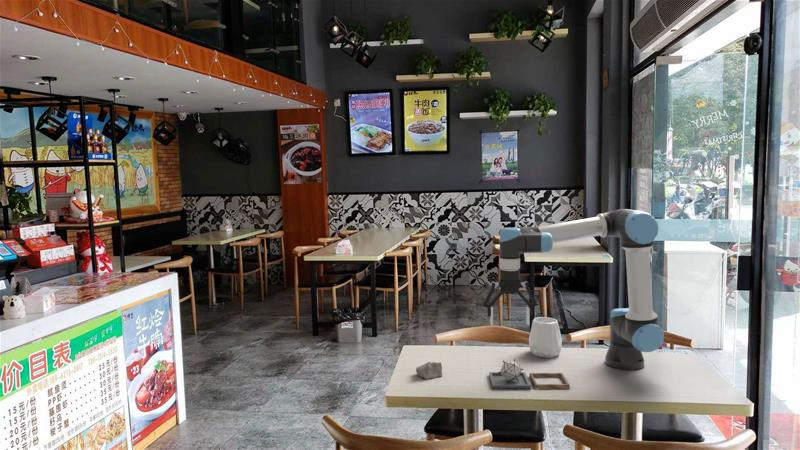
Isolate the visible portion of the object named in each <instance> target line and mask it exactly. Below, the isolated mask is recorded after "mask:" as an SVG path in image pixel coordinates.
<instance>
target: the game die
mask: <svg viewBox="0 0 800 450" xmlns="http://www.w3.org/2000/svg"><path fill="white" fill-rule="evenodd" d="M522 371H524V368H522V367H520V366H519V364H518V363H517V362H516V358H514V359H513V360H510V361H505V360H502V366H501V368H500V370H499V371H497V372H498V373H501V374H502V375H503V377H504V378H505V379H506V380H507V381H506V383H508V381H512V380H517V381H519V380H518V377H519V375H520V373H521V372H522Z"/></svg>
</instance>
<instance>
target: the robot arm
mask: <svg viewBox="0 0 800 450" xmlns="http://www.w3.org/2000/svg"><path fill="white" fill-rule="evenodd" d="M658 233H659V224H658V221H657V220H656V218H655V217H654V216H653V215H652V214H650V213H649V212H646V211H643V210H634V209H629V208H620V209H617V210H612V211H607V212H603V213H598V214H597V215H596V216H593V217H588V218H582V219H577V220H576V219H575V220H570V221H564V222H558V223H551V224H544V225H539V226H535V227H520V228H519V227H503V228H501V229H500V231H499V241H498V242H499V281H498V282H495V281H493V280H492V281H490V287H489V290H488V292H487V294H486V296H485V297H484V299H483V302H482V306H483V307H484V308H486V309H487V311H486V314H487V317H489V318H490V319H489V321H490V322H489V323H490V326H492V327H493V326H494V308H493V306H494V305H495V304H496V303H497V302H498V300H499V299H500V298H501V297H502V296H503V295H504V294H505V295H510V294H511V295H516V294H517V295H519V297H520V298H521V300H523V302H525V304H526V305H527V306H526V308H525V309H526V310H525V311H526V313H525V319H526V320H525V321H526V322H525V323H526V325H527V326H530V324H531V323H530V322H531V321H530V317H533V308H534V307H537V306H538V303H537V301H536V299H535V297H534V295H533V293H532V290H531V289H530V283H529V281H527V280H524V281H523V282H521V271H520V269H521V254H529V253H530V254H533V253H534V254H535V253H536V254H537V253H549V252H551V251H552V249H553V246H554V245H553V244H557V243H562V242H568V241H574V240H575V241H576V240H581V239H587V238H592V237H601V238H610V237H612V238H613V237H614V238H620V248H621V249H622V250H624V251H625V262H626V263H625V265H626V267H625V268H626V281H627V297H628V299H627V300H628V307H626V308H623V307H621V308H620V307H619V308H614V309H612V310H611V311H610V317H609V319H610V323H609V324H610V326H609V329H610V330H609V335H610V336H609V346H608V349H607V351H606V354H605V359H604V360H605V361H604V363H605V364H606V365H607V366H609V367H612V368H615V369H621V370H627V371H628V370H630V371H632V370H633V371H634V370H640V369H642V368H644V367H645V358H644V355H643V353H651V352H652V353H653V352H655V351H657V350H658V349H659V348H660V347H661V346H662V345H663V343H664V340H665V333H664V330H663V329H662V327H661V326H660V325H659V321H658V320H659V319H658V318H659V317H658V314H657V313H656V312H655V311H654V307H653V306H654V305H653V289H652V271H651V270H652V269H651V249H652V248H653V247H654V246H655V245H654V241H655V239H656V237H657V236H658ZM497 287H499V288H500V289H499V290H498V291H497V293H496V294H495V295H493V293H494V292H495V289H497ZM521 287H523V288H524V289H525V290H526V293H527V294H528V296H529V298H530V300H531V302H530V301H529V300H528V298H526V296H525V295H524V294H523V293H522V291H521V290H520V288H521ZM492 295H493V297H492ZM491 297H492V299H491Z"/></svg>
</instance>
